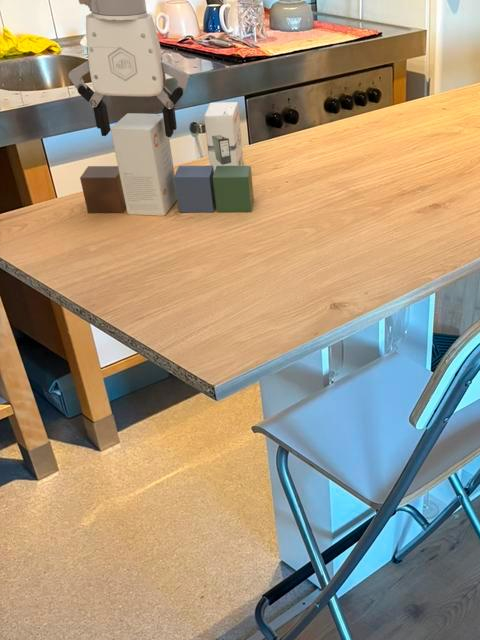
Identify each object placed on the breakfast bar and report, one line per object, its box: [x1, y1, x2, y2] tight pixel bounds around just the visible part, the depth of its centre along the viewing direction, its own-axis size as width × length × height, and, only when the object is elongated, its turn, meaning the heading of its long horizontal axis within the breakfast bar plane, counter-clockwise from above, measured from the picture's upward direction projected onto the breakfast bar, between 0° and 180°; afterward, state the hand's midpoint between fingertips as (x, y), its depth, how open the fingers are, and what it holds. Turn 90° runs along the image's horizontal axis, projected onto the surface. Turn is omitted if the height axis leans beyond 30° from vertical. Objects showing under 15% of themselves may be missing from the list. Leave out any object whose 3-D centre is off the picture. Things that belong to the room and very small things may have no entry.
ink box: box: [203, 101, 245, 172], centre depth 137 cm, size 9×5×12 cm, turn 3°
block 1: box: [79, 165, 126, 214], centre depth 129 cm, size 6×6×6 cm
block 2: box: [174, 165, 216, 213], centre depth 130 cm, size 6×6×6 cm
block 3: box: [213, 165, 255, 213], centre depth 130 cm, size 6×6×6 cm
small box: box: [110, 112, 177, 217], centre depth 127 cm, size 8×6×13 cm
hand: (138, 134), depth 124 cm, fingers open, 9 cm apart
